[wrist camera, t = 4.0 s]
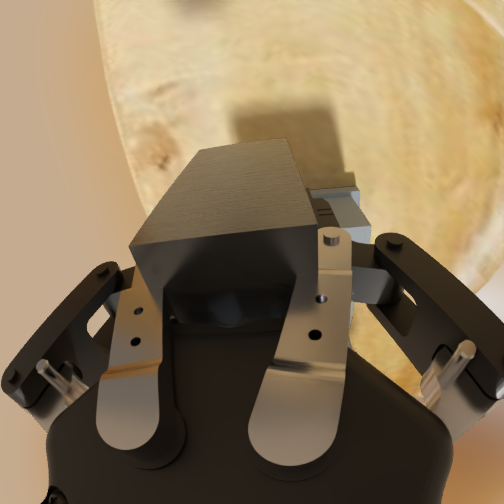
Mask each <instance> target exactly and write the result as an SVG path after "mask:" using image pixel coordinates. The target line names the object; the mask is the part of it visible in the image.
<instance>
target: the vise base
mask: <svg viewBox="0 0 504 504" xmlns="http://www.w3.org/2000/svg"><path fill="white" fill-rule="evenodd" d="M310 193H311V195H312V198H313V199H314V198H323V199H324V200H326V201H327V202H329V204H330V206H331V208H332V210H333V212H334V215H335V217H336V219H337V221H338V223H339V225H340V228H342V229H344V230H346V231H347V232H349V233H350V235H351V238H352V241H355V242H359V243H364V244H370V236H371V224H370V223H369V221H368V220H367V218H366V217H365V215H364V214H363V212H362V211H361V209H360V208H359V207H360V190H359V189H358V188H357V187H356V186H354V187H341V188H329V189H317V190H310ZM353 305H354V302H353V301H351V312H350V326H351V319H352V312H353Z"/></svg>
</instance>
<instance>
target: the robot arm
mask: <svg viewBox="0 0 504 504" xmlns="http://www.w3.org/2000/svg"><path fill="white" fill-rule="evenodd" d="M306 192H307V195H308V198H309V200H310V203H311V206H312V209H313V212H314V215H315V218H316V221H317V224H318V274H317V275H308V276H299V277H297V279H296V283H295V286H294V290H293V294H292V298H291V301H290V305H289V308H288V312H287V316H286V317H280V318H268V319H263V320H259V321H255V322H252V323H248V324H244V325H241V326H237V327H233V328H225V327H219V326H213V325H208V324H202V323H179V321H178V319H177V317H176V314H175V312H174V310H173V308H172V306H171V304H170V302H169V300H168V298H167V296H166V293H165V291H164V289H163V288H154V289H148V287H147V285H146V283H145V281H144V279H143V277H142V275H141V273H140V271H139V269H138V266H137V264H136V266H134V267H131V268H128V269H125V270H122V271H121V270H120V268H119V266H118V264H117V263H116V262H113V261H110V262H105V263H103V264H101V265H99V266H97V267H96V268H95V269H94V270H92V271H91V272H90V273H89V274H88V275H87V277H86V278H84V280H82V282H81V283H80V284H79V285H78V286H77V287H76V288H75V289H74V290H73V291H72V292H71V293H70V294H69V295H68V296H67V297H66V298H65V299H64V300H63V301H62V303H61V304H60V305H59V306H58V307H57V308H56V309H55V310H54V311H53V312H52V314H51V315H50V316H49V317H48V318H47V319H46V320H45V322H44V323H43V324H42V325H41V326H40V327H39V328H38V330H37V331H36V332H35V333H34V334H33V335H32V337H31V338H30V339H29V340H28V341H27V343H26V344H25V345H24V347H23V348H22V349H21V350H20V352H19V353H18V354H17V355H16V357H15V358H14V359H13V361H12V362H11V363H10V364H9V366H8V367H7V369H6V370H5V372H4V374H3V376H2V380H1V387H2V390H3V392H5V393H6V394H7V395H8V396H9V397H11V398H12V399H13V400H14V401H15V402H17V403H18V405H19V406H20V407H21V408H22V409H24V410H25V411H26V412H28V413H29V414H31V415H32V416H33V417H34V418H35V420H36V421H37V422H38V423H39V424H40V425H41V427H42V428H43V429H44V430H45V431H46V432H47V433H48V434H47V439H46V453H47V460H48V468H49V489H48V493H47V496H46V498H45V499H44V501H43V502H42V503H41V504H441V500H442V496H443V491H444V488H445V484H446V481H447V478H448V475H449V472H450V469H451V465H452V462H453V444H454V443H455V442H456V441H457V440H458V439H459V438H460V437H462V436H463V435H464V434H465V433H466V432H467V431H468V430H469V429H470V428H471V427H472V426H473V425H474V424H475V423H476V422H478V421H479V420H480V419H482V418H483V417H484V416H485V415H486V414H488V413H489V412H490V411H491V410H492V409H494V408H495V407H496V406H497V405H498V404H499V403H500V402H501V401H503V400H504V323H503V322H502V321H501V320H500V319H499V318H498V317H497V316H496V315H495V314H494V313H493V312H492V311H491V310H490V309H489V308H488V307H487V306H486V305H485V304H484V303H483V302H482V301H481V300H480V299H479V298H478V297H477V296H476V295H475V294H474V293H473V292H472V291H470V290H469V289H468V288H467V287H466V286H465V285H464V284H463V283H462V282H461V281H459V280H458V279H457V278H456V277H455V276H454V275H453V274H452V273H450V272H449V271H448V270H447V269H446V268H445V267H443V266H442V265H441V264H440V263H439V262H437V261H436V260H435V259H434V258H433V257H431V256H430V255H429V254H428V253H426V252H425V251H424V250H423V249H422V248H420V247H419V246H418V245H416V244H415V243H414V242H413V241H411V240H410V239H409V238H407V237H406V236H404V235H401V234H398V233H384V234H381V235H379V236H378V237H377V238H376V239H375V245H374V244H364V243H359V242H355V241H352V238H351V235H350V233H349V232H347V231H346V230H344V229H342V228H340V225H339V223H338V221H337V219H336V217H335V215H334V212H333V210H332V208H331V206H330V204H329V202H327V201H326V200H324V199H323V198H314V199H313V198H312V195H311V193H310V190H309V188H306ZM404 289H405V290H406V291H407V292H408V293H409V294H410V295H411V296H412V297H413V298H414V300H415V302H416V305H417V306H416V305H415V304H414V303H413V302H412V301H411V300H410V299H409V298H408V297H407V296H406V295H405V294H404V293H403V291H404ZM351 301H353V302H361V303H366V305H367V307H368V309H369V310H370V311H371V312H372V314H373V315H374V316H375V317H376V318H377V320H378V321H379V322H380V323H381V324H382V326H383V327H384V328H385V329H386V331H387V332H388V333H389V334H390V336H391V337H392V338H393V339H394V341H395V342H396V343H397V344H398V346H399V347H400V348H401V350H402V351H403V352H404V353H405V355H406V356H407V357H408V359H409V360H410V361H411V362H412V364H413V365H414V366H415V368H416V369H417V370H418V372H419V373H420V374H421V376H422V379H421V383H420V389H421V393H422V395H423V400H424V402H425V403H426V407H425V406H424V405H423V404H422V403H420V402H419V401H418V400H416V399H415V398H414V397H412V396H411V395H410V394H408V393H407V392H406V391H405V390H403V389H402V388H401V387H399V386H398V385H397V384H396V383H394V382H393V381H392V380H390V379H389V378H388V377H386V376H385V375H384V374H383V373H381V372H380V371H379V370H377V369H376V368H375V367H374V366H372V365H371V364H370V363H369V362H367V361H366V360H365V359H363V358H362V357H361V356H360V355H358V354H357V353H356V352H354V351H353V350H352V349H351V348H349V347H348V339H349V327H350V312H351ZM102 304H103V306H104V307H105V309H106V310H107V312H108V313H109V315H110V317H109V319H108V320H107V321H106V322H105V323H104V325H103V326H102V327H101V328H100V329H99V331H98V332H97V333H96V334H95V336H94V337H93V338H92V337H91V336H90V335H89V333H88V332H87V323H88V320H89V319H90V318H91V317H92V316H93V315H94V313H95V312H96V311H97V310H98V309H99V308H100V307H101V305H102Z"/></svg>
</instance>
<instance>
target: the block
mask: <svg viewBox="0 0 504 504" xmlns="http://www.w3.org/2000/svg"><path fill="white" fill-rule="evenodd" d="M129 249H130V251H131V253H132V255H133V258H134V260H135V262H136V264H137V266H138V269H139V271H140V273H141V275H142V277H143V279H144V281H145V283H146V285H147V287H148V289H154V288H163V289H164V291H165V293H166V296H167V298H168V300H169V302H170V304H171V306H172V308H173V310H174V312H175V314H176V317H177V319H178V321H179V323H202V324H208V325H213V326H219V327H225V328H233V327H237V326H241V325H244V324H248V323H252V322H255V321H259V320H263V319H268V318H280V317H286V316H287V312H288V308H289V305H290V301H291V298H292V294H293V290H294V286H295V283H296V279H297V277H299V276H308V275H317V274H318V224H317V221H316V218H315V215H314V212H313V209H312V206H311V203H310V200H309V198H308V195H307V192H306V189H305V187H304V184H303V181H302V178H301V176H300V173H299V170H298V168H297V165H296V163H295V160H294V157H293V155H292V152H291V150H290V147H289V145H288V142H287V140H286V138H278V139H269V140H260V141H253V142H245V143H238V144H232V145H225V146H219V147H213V148H208V149H202V150H199V151H198V153H197V154H196V155H195V156H194V157H193V159H192V160H191V161H190V162H189V164H188V165H187V166H186V167H185V169H184V170H183V171H182V172H181V174H180V175H179V176H178V177H177V179H176V180H175V181H174V183H173V184H172V185H171V187H170V188H169V189H168V191H167V192H166V193H165V195H164V196H163V197H162V199H161V200H160V201H159V203H158V204H157V205H156V207H155V208H154V210H153V211H152V212H151V214H150V215H149V217H148V218H147V220H146V221H145V222H144V224H143V225H142V227H141V228H140V230H139V231H138V233H137V234H136V236H135V237H134V239H133V240H132V242H131V243H130V245H129Z"/></svg>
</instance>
